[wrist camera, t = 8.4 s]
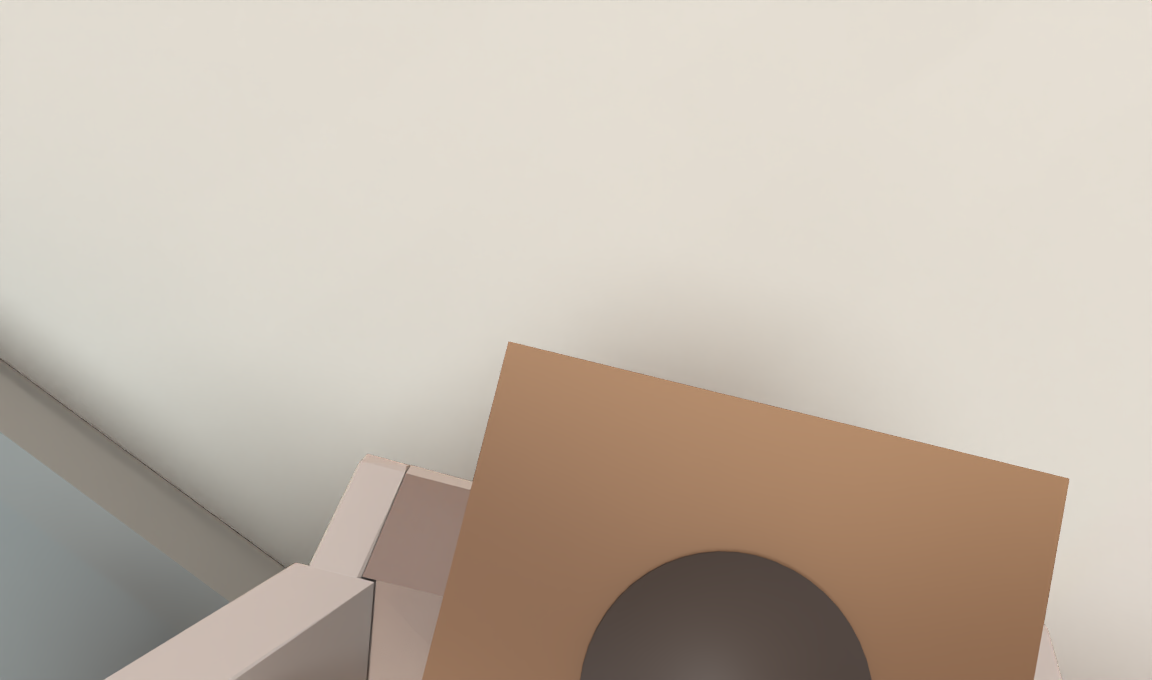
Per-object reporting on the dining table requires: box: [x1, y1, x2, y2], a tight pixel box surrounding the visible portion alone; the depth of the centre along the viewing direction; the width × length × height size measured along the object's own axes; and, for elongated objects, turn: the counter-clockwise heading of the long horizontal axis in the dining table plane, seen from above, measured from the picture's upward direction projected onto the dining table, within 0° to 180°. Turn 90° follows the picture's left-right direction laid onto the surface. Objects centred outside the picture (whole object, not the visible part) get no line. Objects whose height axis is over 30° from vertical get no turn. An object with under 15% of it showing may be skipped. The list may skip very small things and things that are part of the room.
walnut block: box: [422, 342, 1069, 680], centre depth 11 cm, size 4×4×8 cm
